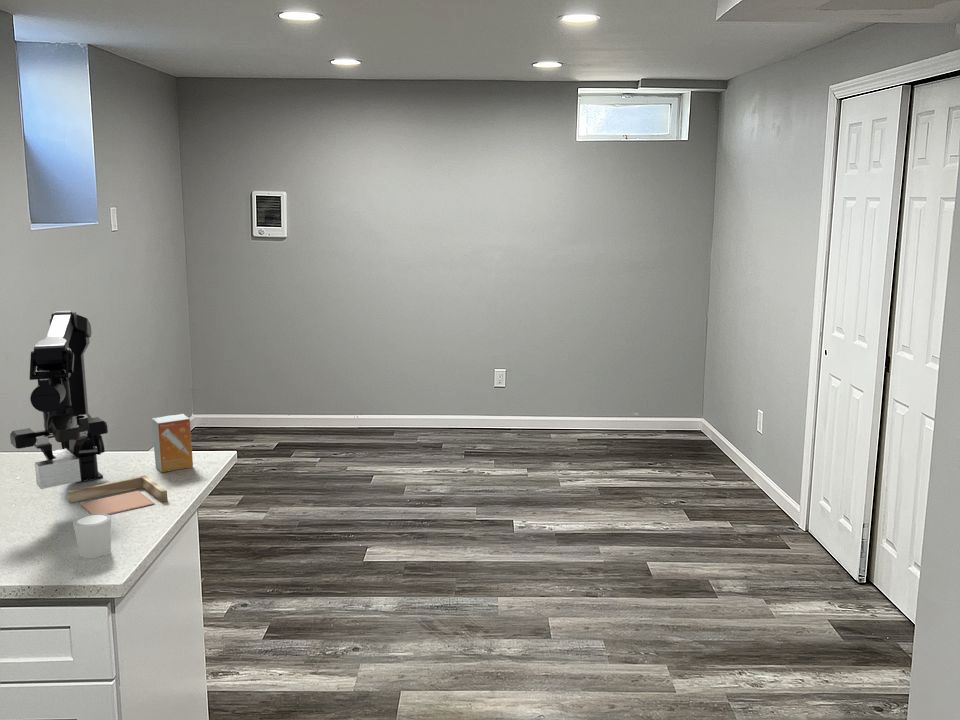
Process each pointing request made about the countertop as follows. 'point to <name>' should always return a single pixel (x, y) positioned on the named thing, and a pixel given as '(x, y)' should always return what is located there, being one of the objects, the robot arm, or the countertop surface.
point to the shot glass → (93, 535)
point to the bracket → (58, 470)
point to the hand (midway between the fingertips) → (63, 469)
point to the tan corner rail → (119, 489)
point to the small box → (172, 442)
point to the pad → (117, 503)
